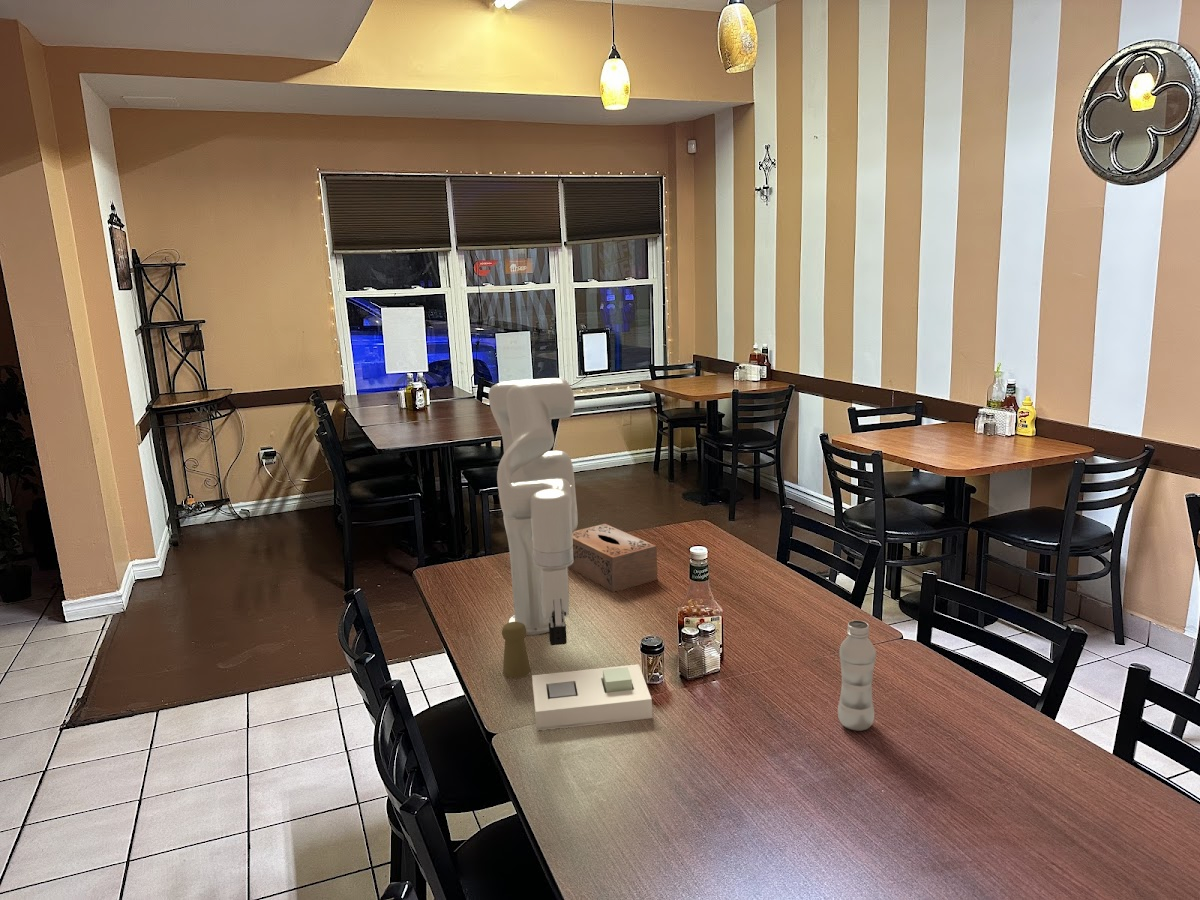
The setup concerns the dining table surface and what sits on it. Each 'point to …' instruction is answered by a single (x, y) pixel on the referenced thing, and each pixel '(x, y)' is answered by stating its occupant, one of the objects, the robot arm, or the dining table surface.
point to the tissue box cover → (613, 557)
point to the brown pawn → (515, 651)
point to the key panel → (589, 699)
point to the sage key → (617, 680)
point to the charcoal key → (561, 690)
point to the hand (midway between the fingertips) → (558, 642)
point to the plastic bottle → (857, 678)
